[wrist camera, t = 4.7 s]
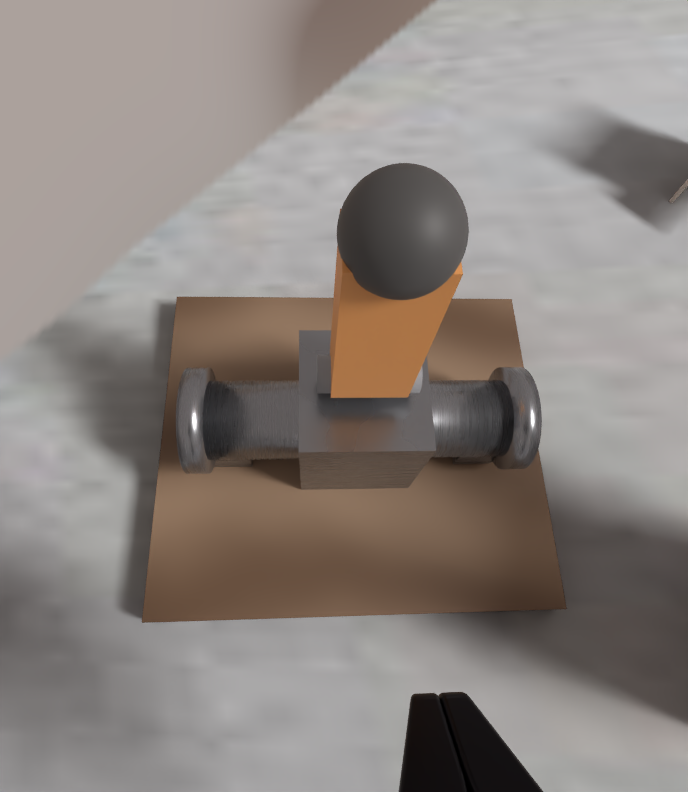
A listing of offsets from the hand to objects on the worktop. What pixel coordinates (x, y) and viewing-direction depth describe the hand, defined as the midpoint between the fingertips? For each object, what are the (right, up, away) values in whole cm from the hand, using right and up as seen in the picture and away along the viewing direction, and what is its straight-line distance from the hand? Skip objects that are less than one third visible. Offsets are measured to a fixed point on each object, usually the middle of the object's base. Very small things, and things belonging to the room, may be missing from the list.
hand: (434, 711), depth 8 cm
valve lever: (-1, +5, +9) cm, 10 cm away
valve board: (-1, +3, +16) cm, 16 cm away
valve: (-1, +3, +15) cm, 15 cm away
